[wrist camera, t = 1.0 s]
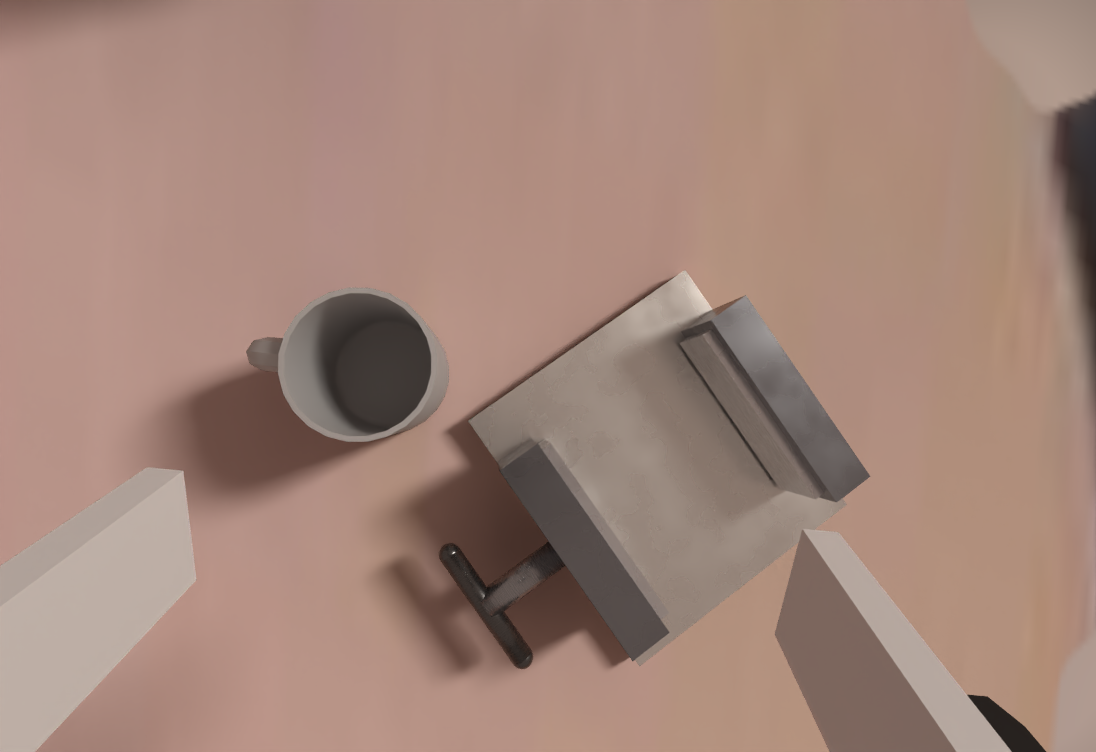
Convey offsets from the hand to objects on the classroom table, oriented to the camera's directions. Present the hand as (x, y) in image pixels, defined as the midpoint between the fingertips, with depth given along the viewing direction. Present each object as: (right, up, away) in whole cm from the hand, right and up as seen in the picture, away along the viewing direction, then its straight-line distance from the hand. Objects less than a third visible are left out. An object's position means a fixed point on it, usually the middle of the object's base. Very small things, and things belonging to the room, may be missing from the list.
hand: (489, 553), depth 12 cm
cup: (-10, +4, +23) cm, 26 cm away
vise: (+6, -3, +24) cm, 25 cm away
